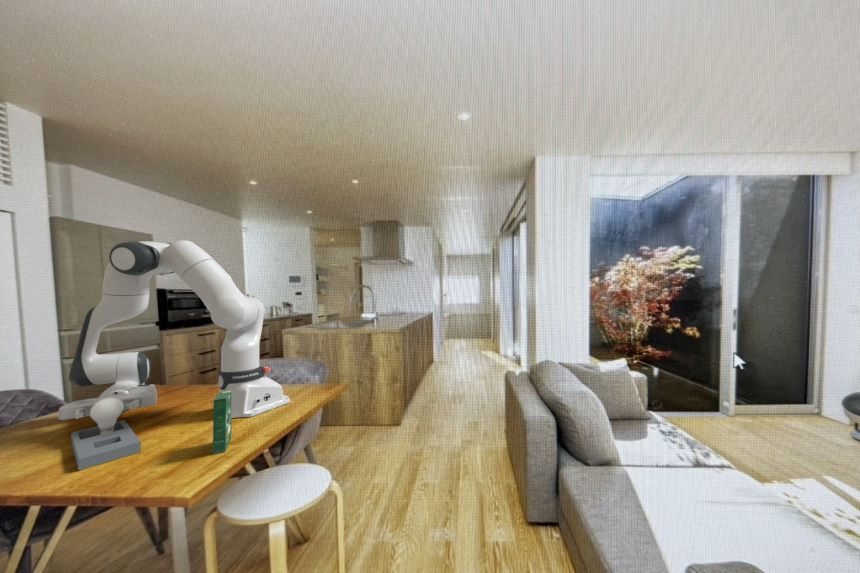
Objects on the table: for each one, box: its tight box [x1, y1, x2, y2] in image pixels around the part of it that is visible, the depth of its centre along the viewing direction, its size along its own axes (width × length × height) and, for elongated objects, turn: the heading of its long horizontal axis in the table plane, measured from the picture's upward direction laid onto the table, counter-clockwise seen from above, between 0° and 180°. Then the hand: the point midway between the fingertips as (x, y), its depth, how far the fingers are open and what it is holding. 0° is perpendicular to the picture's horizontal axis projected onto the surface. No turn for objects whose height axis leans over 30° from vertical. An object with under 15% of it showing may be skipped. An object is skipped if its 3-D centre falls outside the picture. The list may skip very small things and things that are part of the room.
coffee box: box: [212, 391, 232, 455], centre depth 76 cm, size 8×3×13 cm, turn 25°
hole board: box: [70, 419, 142, 471], centre depth 77 cm, size 10×24×2 cm, turn 53°
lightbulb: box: [89, 397, 124, 435], centre depth 82 cm, size 6×6×11 cm
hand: (104, 411), depth 83 cm, fingers open, 8 cm apart
